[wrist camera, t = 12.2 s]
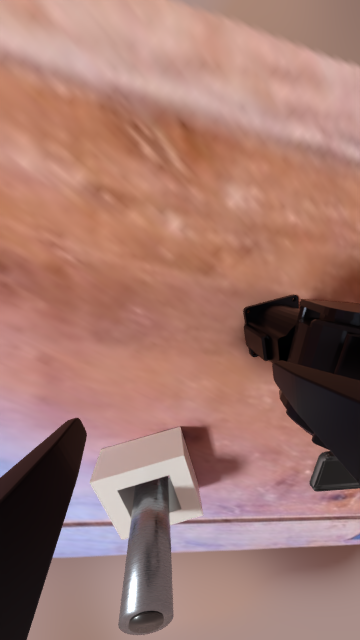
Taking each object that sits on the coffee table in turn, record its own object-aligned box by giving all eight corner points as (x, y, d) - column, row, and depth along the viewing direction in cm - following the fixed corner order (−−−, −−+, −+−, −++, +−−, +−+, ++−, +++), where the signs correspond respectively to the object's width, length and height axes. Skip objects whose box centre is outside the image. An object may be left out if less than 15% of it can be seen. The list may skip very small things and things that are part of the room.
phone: (324, 456, 28) (404, 452, 30) (318, 449, 29) (396, 446, 31) (311, 492, 30) (387, 487, 32) (306, 484, 31) (379, 479, 33)
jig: (180, 426, 25) (183, 455, 21) (197, 481, 28) (203, 515, 24) (100, 449, 24) (89, 482, 20) (127, 502, 27) (121, 539, 24)
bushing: (166, 452, 26) (171, 603, 14) (168, 474, 27) (175, 631, 15) (135, 456, 25) (114, 615, 14) (139, 479, 26) (122, 643, 15)
